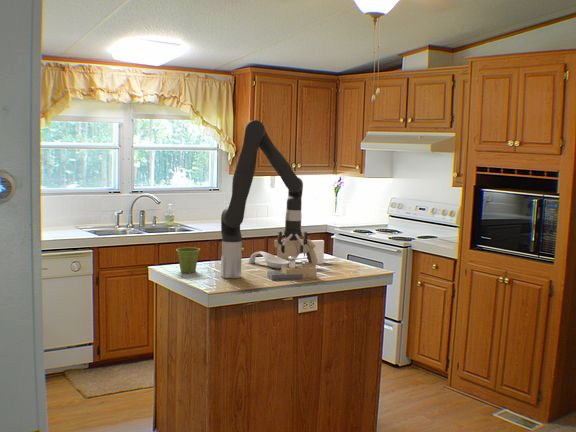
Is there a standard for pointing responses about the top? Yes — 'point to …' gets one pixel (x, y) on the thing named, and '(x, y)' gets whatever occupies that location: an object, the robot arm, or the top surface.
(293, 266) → the pin
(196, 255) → the plant pot
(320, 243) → the base with upright slab
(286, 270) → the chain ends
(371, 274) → the top surface
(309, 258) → the gun
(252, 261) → the spoon rest
